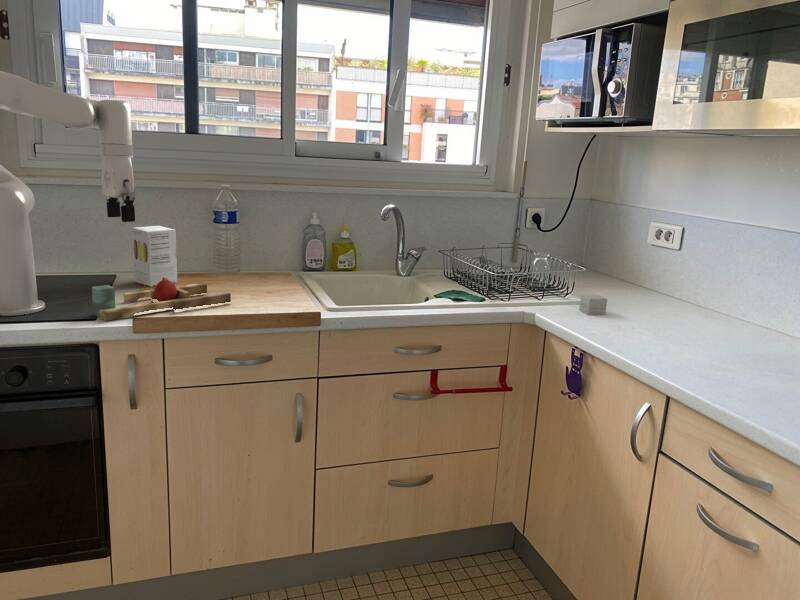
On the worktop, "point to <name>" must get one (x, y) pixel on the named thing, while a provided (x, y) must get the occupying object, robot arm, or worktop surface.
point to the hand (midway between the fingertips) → (121, 219)
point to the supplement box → (154, 254)
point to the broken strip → (141, 295)
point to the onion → (165, 290)
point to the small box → (593, 304)
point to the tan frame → (108, 311)
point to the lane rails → (199, 300)
